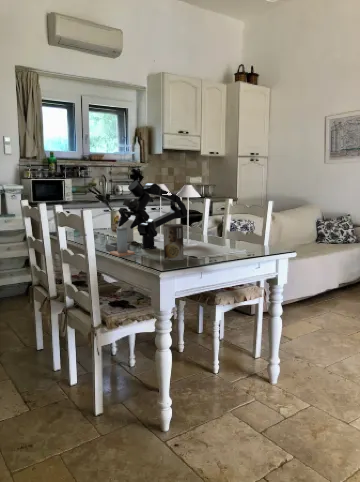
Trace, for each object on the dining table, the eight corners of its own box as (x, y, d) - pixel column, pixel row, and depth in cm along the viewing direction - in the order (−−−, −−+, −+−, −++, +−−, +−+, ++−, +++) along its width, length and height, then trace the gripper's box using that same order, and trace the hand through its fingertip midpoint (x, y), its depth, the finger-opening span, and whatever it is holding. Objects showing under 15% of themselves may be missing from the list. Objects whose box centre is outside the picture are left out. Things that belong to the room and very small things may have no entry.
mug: (130, 239, 240) (130, 219, 237) (135, 241, 234) (135, 220, 232) (114, 241, 234) (114, 220, 232) (119, 243, 229) (118, 221, 226)
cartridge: (129, 251, 204) (128, 227, 201) (124, 253, 199) (124, 228, 197) (119, 250, 205) (119, 226, 203) (115, 252, 200) (114, 228, 198)
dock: (140, 253, 204) (140, 247, 203) (119, 256, 196) (118, 250, 195) (120, 247, 218) (120, 241, 218) (99, 250, 210) (99, 244, 210)
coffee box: (183, 257, 194) (182, 223, 191) (183, 260, 188) (183, 225, 185) (163, 257, 194) (163, 223, 191) (163, 260, 188) (163, 225, 184)
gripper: (120, 191, 210) (103, 215, 205) (144, 193, 198) (127, 218, 192) (132, 205, 217) (116, 229, 212) (156, 208, 205) (140, 233, 199)
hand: (124, 227), depth 203 cm, fingers open, 9 cm apart
